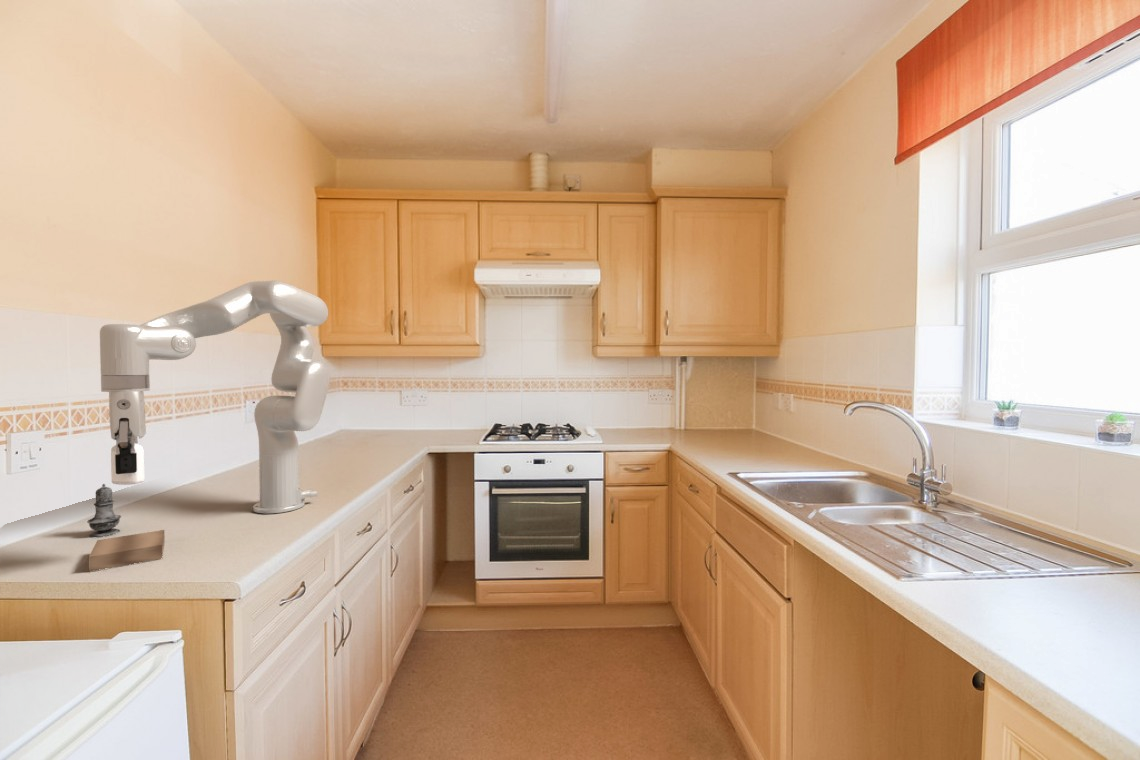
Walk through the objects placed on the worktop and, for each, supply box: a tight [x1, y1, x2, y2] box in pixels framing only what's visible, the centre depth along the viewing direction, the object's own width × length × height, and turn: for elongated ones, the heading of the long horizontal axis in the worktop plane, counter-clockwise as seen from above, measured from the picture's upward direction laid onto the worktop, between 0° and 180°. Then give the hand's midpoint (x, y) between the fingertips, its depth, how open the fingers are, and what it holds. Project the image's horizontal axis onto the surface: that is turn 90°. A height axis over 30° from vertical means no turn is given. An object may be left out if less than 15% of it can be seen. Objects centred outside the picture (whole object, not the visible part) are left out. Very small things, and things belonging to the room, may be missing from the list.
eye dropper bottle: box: [110, 436, 145, 486], centre depth 103 cm, size 4×6×12 cm
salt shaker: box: [87, 483, 122, 538], centre depth 116 cm, size 6×6×12 cm
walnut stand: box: [88, 529, 166, 573], centre depth 103 cm, size 11×11×3 cm
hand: (127, 469), depth 103 cm, fingers closed on eye dropper bottle, 4 cm apart
